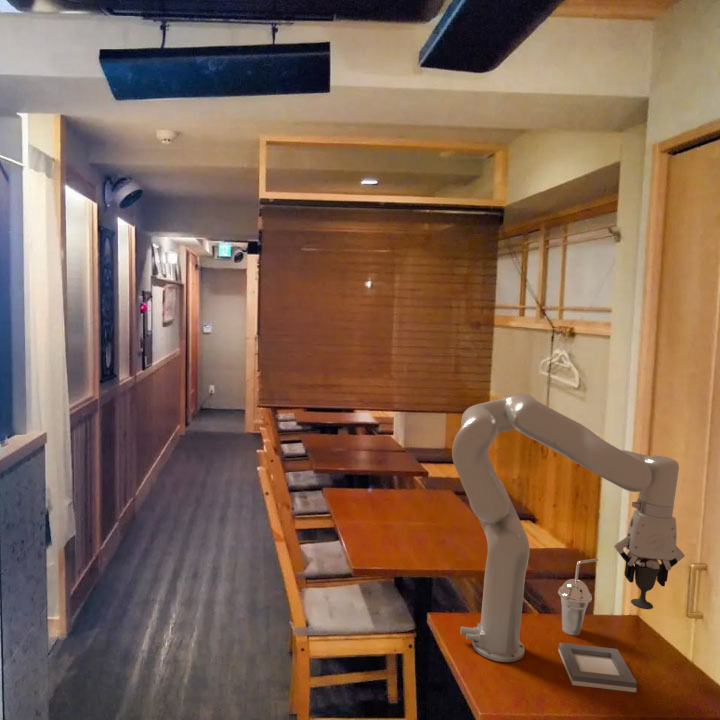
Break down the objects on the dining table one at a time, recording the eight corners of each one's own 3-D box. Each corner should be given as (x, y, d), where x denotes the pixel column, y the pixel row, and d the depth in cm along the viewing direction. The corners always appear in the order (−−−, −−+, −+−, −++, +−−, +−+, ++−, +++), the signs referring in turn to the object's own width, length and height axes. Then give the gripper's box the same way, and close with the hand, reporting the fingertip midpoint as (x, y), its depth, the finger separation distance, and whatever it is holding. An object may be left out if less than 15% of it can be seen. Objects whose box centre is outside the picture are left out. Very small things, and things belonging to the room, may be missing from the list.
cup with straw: (555, 619, 173) (562, 548, 171) (590, 627, 169) (598, 555, 167) (553, 634, 165) (560, 560, 163) (589, 643, 161) (598, 567, 159)
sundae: (660, 613, 147) (669, 551, 146) (630, 608, 148) (638, 546, 147) (653, 600, 154) (661, 540, 152) (624, 595, 155) (631, 536, 153)
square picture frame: (572, 684, 143) (573, 675, 142) (558, 651, 157) (559, 642, 156) (636, 692, 142) (637, 683, 141) (616, 657, 155) (617, 649, 155)
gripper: (622, 510, 146) (612, 584, 147) (700, 518, 144) (689, 593, 146) (612, 499, 153) (602, 571, 155) (686, 508, 152) (675, 579, 153)
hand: (644, 581), depth 150 cm, fingers closed on sundae, 6 cm apart
